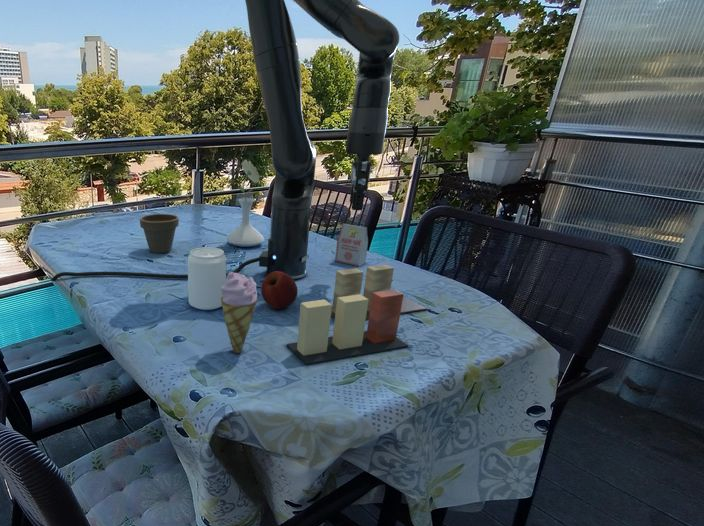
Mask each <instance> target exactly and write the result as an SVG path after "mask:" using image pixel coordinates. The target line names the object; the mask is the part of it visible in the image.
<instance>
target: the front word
mask: <svg viewBox="0 0 704 526" xmlns="http://www.w3.org/2000/svg"><path fill="white" fill-rule="evenodd" d="M368 300H369V299H367V298H366V297H364V296H363V294H361V293H360V294H358V295H351V296H344V297H337V305H336V314H335V318H334V324H333V331H332V336H329V333H330V328H331V327H330V326H331V325H330V324H331V318H332V316H331V309H332V306H333V303H332V304H331V303H330V301H327V300H326V299H324V298H323V299H317V300H310V301H302V302H300V306H299V307H300V308H299V319H298V331H297V342H291V343H286V347H287V348H288V349H289V350H290V351H291V352H292V353H293V354H294V355H295V356H296V357H297V358H298V359H299V360H300V361H302V363H303V364H304V365H306V366H310V365H314V364H315V365H316V364H320V363H325V362H331V361H337V360H342V359H349V358H354V357H361V356H365V355H371V354H376V353H382V352H389V351H395V350H398V349H399V350H400V349H407V348H409V344H407V343H406V342H404V341H402V340H401V339H400V338H398V337H396V340H392V341H386V342H380V343H375V344H374V343H373V342H371V341H370V340H369V339H367V338H366V334H367V330H365V327H366V321H367V319H366V314H367V307H368Z"/></svg>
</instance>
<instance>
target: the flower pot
mask: <svg viewBox="0 0 704 526" xmlns="http://www.w3.org/2000/svg"><path fill="white" fill-rule="evenodd" d="M179 219H180V217H179V216H178V215H175V214H169V213H154V214H146V215H143V216H141V217H139V225H140V228H142V229H143V232H144V235H145V239H146V243H147V247H148V250H149V251H150V252H151V253H154V254H164V253H165V254H166V253H169V252H171V250H172V248H173V243H174V239H175V233H176V229H177V227H179V225H180V223H179Z"/></svg>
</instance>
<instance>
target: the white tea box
mask: <svg viewBox="0 0 704 526" xmlns="http://www.w3.org/2000/svg"><path fill="white" fill-rule="evenodd" d="M368 246H369V236H368V227H366V226H359V225H353V224H347V223H341V227H340V230H339V233H338V237H337V239H336V248H335V257H334V261H335V262H338V263H342V264H346V265H351V266H355V267H361V266H362V265H364V264H366V260H367V253H368Z"/></svg>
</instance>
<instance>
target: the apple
mask: <svg viewBox="0 0 704 526" xmlns="http://www.w3.org/2000/svg"><path fill="white" fill-rule="evenodd" d="M260 292H261V296H262V299H263V301H264V302H265V303H266V305H267V306H269V307H270V308H272V309H275V310H281V309H286V308H288V307H290V306H291V305H292V304H293V303H295V301H296V299H297V297H298V285H297V283H296V281H295V279H292V278H291V277H290V276H289V275H288V274H286V273H284V272H279V271H274V272H271V273H269V274H268V275H267V274H266V276H265V278H264V279H263V280H262V282H261V285H260Z"/></svg>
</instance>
